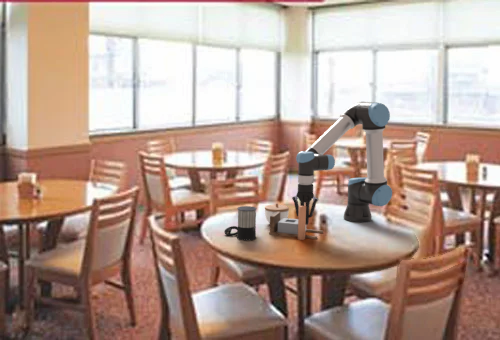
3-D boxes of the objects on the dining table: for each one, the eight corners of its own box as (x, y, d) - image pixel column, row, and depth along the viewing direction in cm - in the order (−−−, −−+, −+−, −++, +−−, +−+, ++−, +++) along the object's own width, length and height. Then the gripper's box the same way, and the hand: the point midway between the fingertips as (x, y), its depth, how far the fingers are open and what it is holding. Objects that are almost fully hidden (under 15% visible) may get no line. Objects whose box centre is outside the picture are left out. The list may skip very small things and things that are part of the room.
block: (302, 231, 306) (302, 219, 305) (297, 236, 296) (297, 224, 295) (283, 229, 309) (283, 217, 308) (277, 234, 299) (277, 222, 299)
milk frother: (255, 241, 287) (256, 210, 285) (222, 240, 288) (222, 209, 285) (256, 233, 301) (257, 204, 299) (225, 232, 302) (225, 203, 299)
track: (322, 233, 304) (323, 215, 302) (316, 239, 291) (317, 221, 290) (276, 228, 312) (277, 211, 310) (269, 234, 299) (269, 216, 298)
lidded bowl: (291, 222, 325) (291, 202, 323) (284, 227, 313) (285, 206, 312) (268, 220, 329) (269, 200, 327) (261, 225, 317) (261, 204, 316)
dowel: (305, 238, 293) (306, 206, 290) (304, 240, 289) (305, 207, 287) (298, 237, 294) (299, 205, 291) (296, 239, 290) (297, 206, 288)
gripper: (320, 183, 298) (318, 230, 301) (294, 181, 302) (293, 227, 305) (317, 185, 291) (315, 233, 294) (290, 183, 295) (289, 231, 298)
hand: (304, 230), depth 300 cm, fingers closed
